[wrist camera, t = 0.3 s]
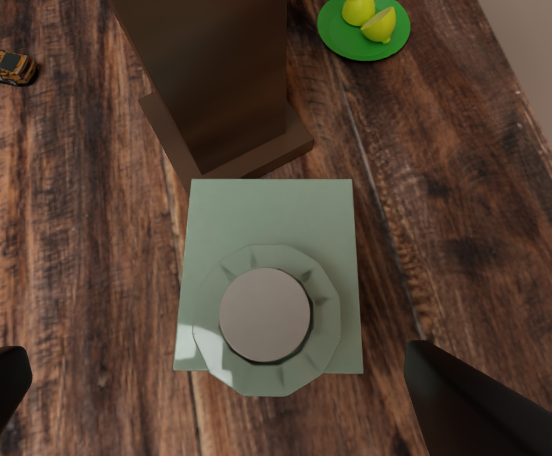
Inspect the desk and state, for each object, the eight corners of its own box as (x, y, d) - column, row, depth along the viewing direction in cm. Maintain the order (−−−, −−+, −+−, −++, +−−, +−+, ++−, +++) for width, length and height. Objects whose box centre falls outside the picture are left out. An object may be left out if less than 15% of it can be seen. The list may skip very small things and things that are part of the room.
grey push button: (307, 358, 15) (310, 362, 13) (224, 357, 15) (215, 361, 13) (306, 276, 16) (309, 267, 14) (229, 275, 16) (221, 267, 14)
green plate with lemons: (425, 25, 30) (439, -5, 27) (371, 82, 28) (380, 55, 25) (353, -17, 32) (360, -50, 29) (297, 34, 30) (299, 4, 27)
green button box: (342, 376, 21) (375, 399, 14) (201, 374, 22) (156, 394, 14) (336, 216, 25) (359, 162, 17) (213, 215, 25) (181, 162, 17)
